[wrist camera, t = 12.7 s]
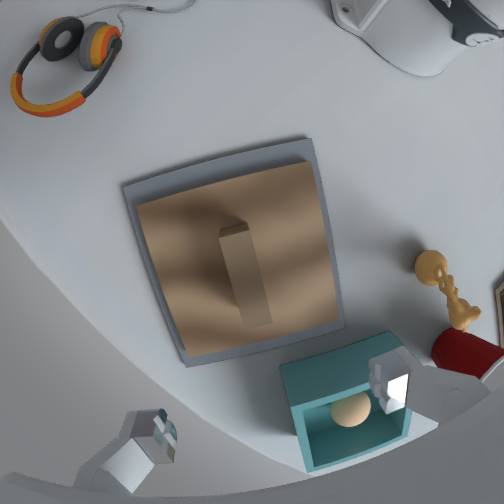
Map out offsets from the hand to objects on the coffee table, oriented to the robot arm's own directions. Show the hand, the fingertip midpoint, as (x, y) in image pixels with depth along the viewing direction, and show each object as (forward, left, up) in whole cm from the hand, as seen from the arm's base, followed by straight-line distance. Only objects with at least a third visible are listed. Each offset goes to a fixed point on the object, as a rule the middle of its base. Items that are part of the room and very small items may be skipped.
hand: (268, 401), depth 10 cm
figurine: (+6, +19, -19) cm, 27 cm away
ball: (+20, +8, -18) cm, 28 cm away
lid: (0, 0, -18) cm, 18 cm away
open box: (+20, +8, -19) cm, 29 cm away
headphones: (-27, -10, -19) cm, 35 cm away
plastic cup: (+20, +25, -19) cm, 37 cm away
